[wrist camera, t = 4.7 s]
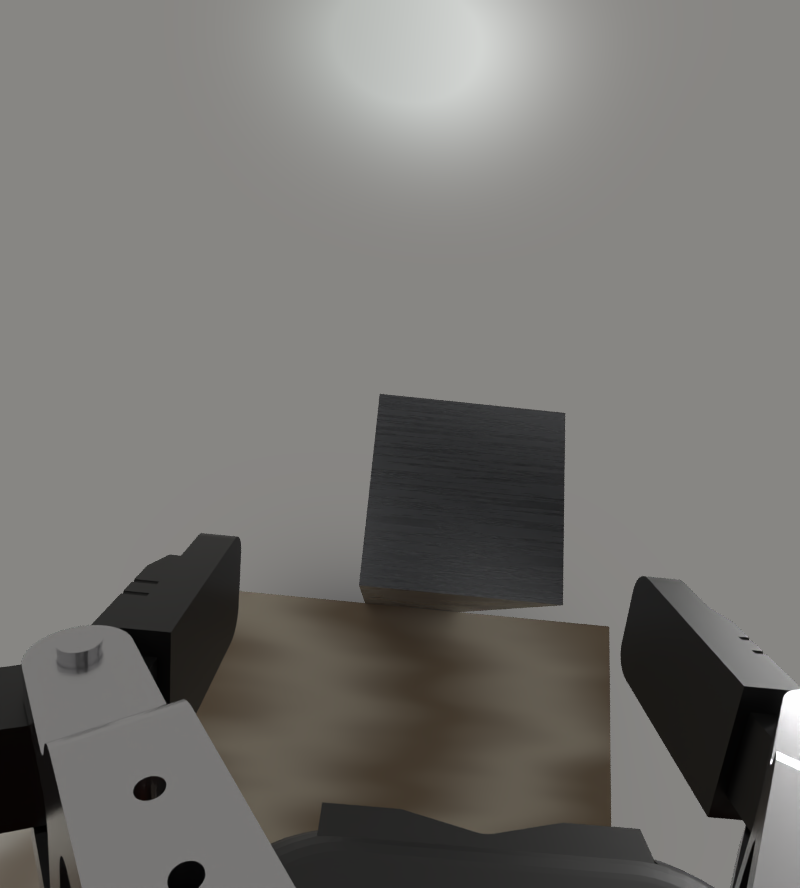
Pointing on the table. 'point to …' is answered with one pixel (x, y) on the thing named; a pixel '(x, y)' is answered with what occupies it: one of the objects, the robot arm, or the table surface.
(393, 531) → the bar
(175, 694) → the robot arm
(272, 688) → the stand
